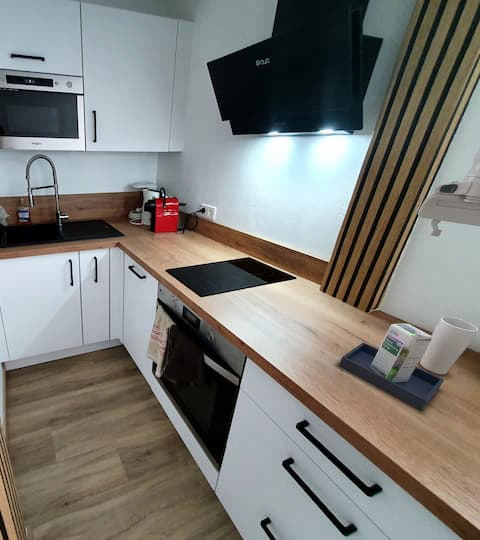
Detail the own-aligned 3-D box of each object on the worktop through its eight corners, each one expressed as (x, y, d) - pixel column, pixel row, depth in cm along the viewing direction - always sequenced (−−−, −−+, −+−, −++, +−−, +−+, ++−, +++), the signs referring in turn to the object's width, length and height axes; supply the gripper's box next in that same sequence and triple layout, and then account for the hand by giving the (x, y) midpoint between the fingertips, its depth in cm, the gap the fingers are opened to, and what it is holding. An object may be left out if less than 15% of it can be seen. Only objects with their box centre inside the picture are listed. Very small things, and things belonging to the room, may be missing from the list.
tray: (438, 388, 73) (444, 379, 71) (421, 410, 66) (427, 401, 65) (359, 350, 86) (363, 341, 85) (338, 365, 80) (342, 356, 78)
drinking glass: (416, 356, 84) (440, 313, 78) (449, 369, 79) (477, 323, 74) (415, 368, 79) (440, 322, 73) (450, 381, 75) (480, 334, 69)
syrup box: (368, 368, 78) (389, 323, 72) (387, 366, 79) (409, 322, 73) (388, 383, 73) (413, 337, 67) (408, 382, 74) (434, 336, 68)
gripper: (554, 193, 67) (520, 248, 73) (434, 184, 83) (414, 230, 89) (551, 195, 64) (516, 252, 70) (428, 185, 80) (407, 232, 86)
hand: (458, 240), depth 79 cm, fingers open, 8 cm apart
